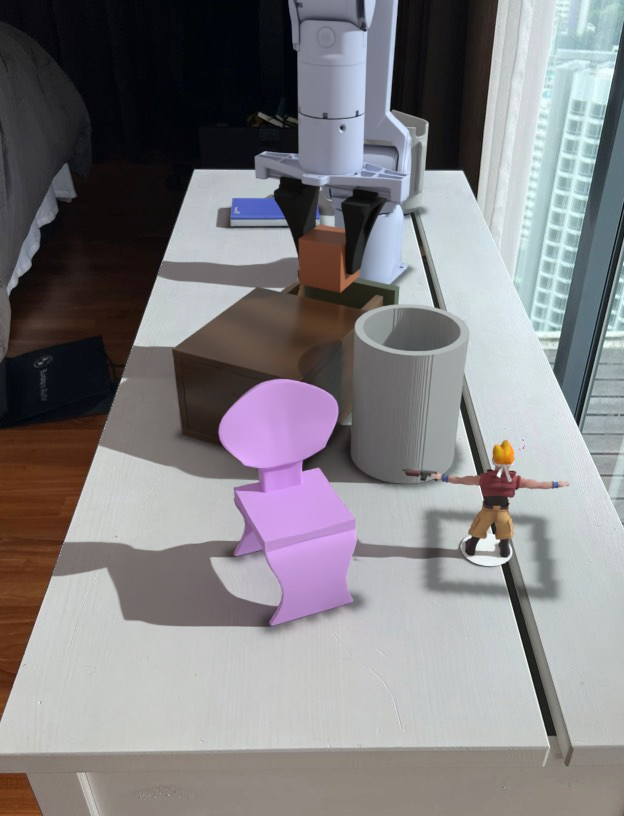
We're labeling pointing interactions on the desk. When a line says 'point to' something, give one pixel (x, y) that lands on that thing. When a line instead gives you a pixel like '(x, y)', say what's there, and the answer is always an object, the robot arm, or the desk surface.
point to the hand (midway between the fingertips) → (329, 266)
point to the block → (324, 259)
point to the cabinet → (263, 356)
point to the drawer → (351, 294)
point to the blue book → (258, 212)
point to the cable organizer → (412, 157)
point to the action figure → (491, 506)
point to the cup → (406, 390)
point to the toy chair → (291, 494)
